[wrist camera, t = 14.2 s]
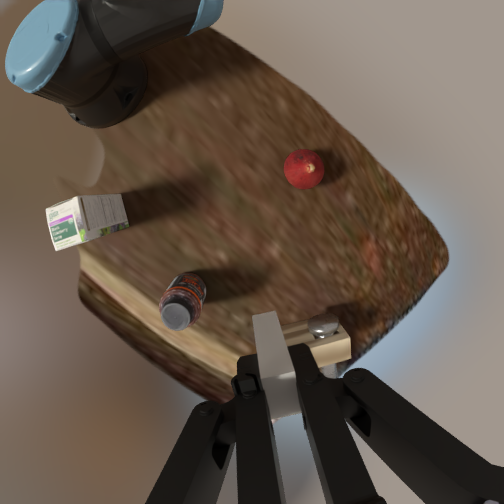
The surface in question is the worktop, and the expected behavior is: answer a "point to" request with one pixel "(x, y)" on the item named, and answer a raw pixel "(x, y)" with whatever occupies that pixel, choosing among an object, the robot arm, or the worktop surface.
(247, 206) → the worktop surface
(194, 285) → the supplement bottle
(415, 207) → the worktop surface
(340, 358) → the block
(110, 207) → the syrup box
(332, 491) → the robot arm
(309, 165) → the onion
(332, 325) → the pin
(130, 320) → the worktop surface
